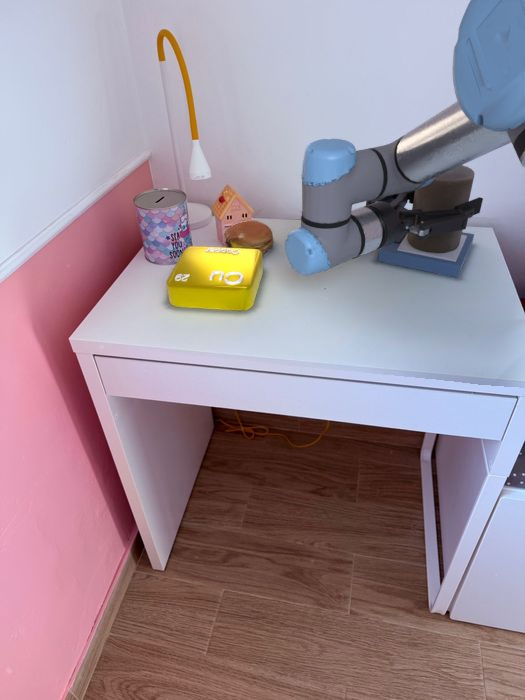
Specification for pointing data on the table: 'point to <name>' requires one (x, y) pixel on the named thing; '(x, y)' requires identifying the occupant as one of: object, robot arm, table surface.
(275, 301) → the table surface
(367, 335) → the table surface
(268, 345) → the table surface
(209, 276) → the element tile
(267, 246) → the burger
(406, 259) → the scale
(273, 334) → the table surface
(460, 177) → the pillar candle
